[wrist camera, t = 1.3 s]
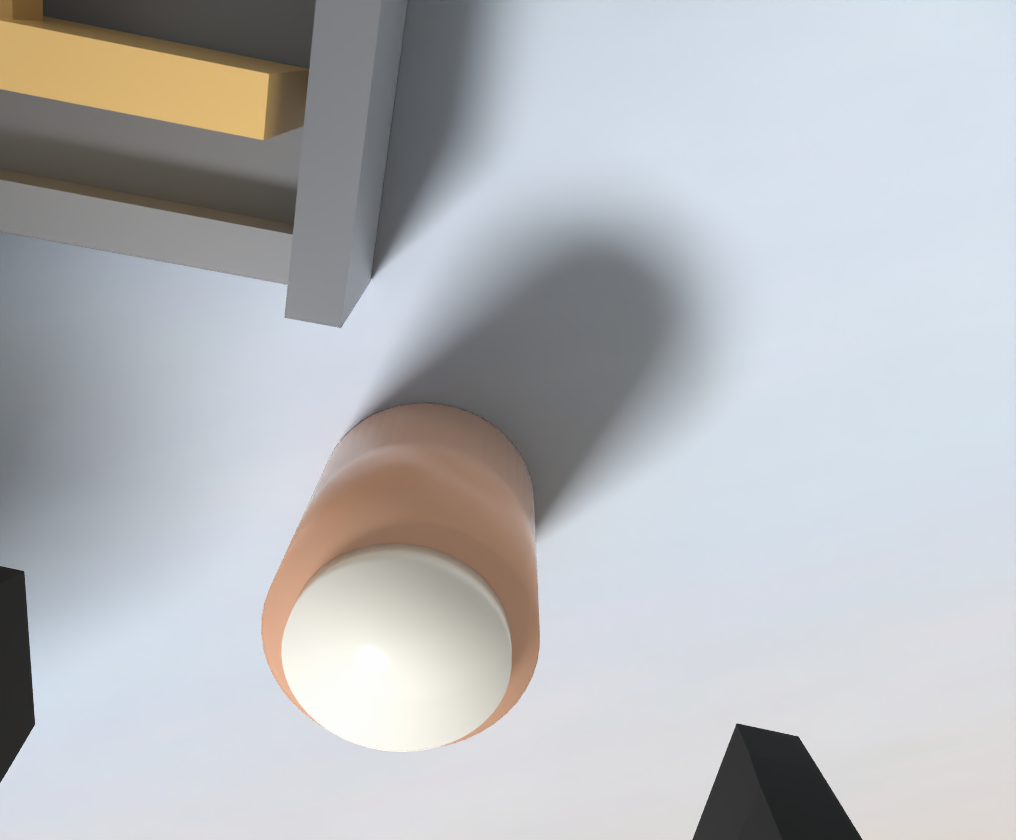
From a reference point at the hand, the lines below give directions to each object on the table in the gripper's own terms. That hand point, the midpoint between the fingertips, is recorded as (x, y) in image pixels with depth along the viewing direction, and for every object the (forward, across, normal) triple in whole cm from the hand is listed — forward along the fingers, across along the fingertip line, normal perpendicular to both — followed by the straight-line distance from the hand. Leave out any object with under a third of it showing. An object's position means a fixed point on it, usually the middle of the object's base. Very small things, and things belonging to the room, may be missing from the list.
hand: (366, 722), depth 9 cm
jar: (+11, +1, +4) cm, 12 cm away
